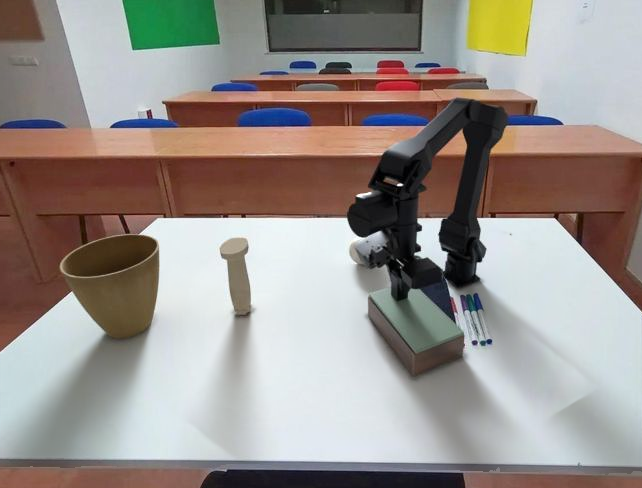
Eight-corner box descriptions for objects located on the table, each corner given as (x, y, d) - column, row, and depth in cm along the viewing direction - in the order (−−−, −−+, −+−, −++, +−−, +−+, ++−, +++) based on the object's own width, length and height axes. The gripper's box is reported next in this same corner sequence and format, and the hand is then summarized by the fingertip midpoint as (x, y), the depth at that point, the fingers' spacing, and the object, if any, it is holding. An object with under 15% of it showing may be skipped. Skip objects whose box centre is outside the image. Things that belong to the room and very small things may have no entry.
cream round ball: (369, 272, 93) (369, 247, 90) (344, 264, 96) (343, 239, 94) (383, 260, 98) (384, 236, 96) (359, 252, 102) (359, 229, 99)
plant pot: (63, 342, 71) (37, 266, 66) (135, 295, 84) (119, 228, 79) (124, 364, 66) (101, 284, 61) (190, 311, 79) (177, 240, 74)
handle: (258, 301, 83) (250, 237, 77) (251, 321, 77) (242, 253, 71) (235, 301, 82) (226, 237, 77) (226, 322, 76) (215, 254, 71)
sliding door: (410, 283, 81) (411, 259, 79) (464, 335, 66) (466, 307, 65) (368, 295, 77) (368, 271, 75) (415, 354, 62) (417, 325, 61)
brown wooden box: (410, 301, 82) (411, 283, 81) (462, 356, 68) (464, 335, 67) (367, 315, 78) (367, 296, 77) (413, 376, 64) (414, 354, 62)
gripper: (339, 208, 74) (341, 278, 80) (386, 252, 59) (385, 336, 64) (391, 198, 79) (389, 265, 84) (447, 236, 63) (441, 316, 69)
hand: (399, 292), depth 75 cm, fingers closed on sliding door, 2 cm apart
